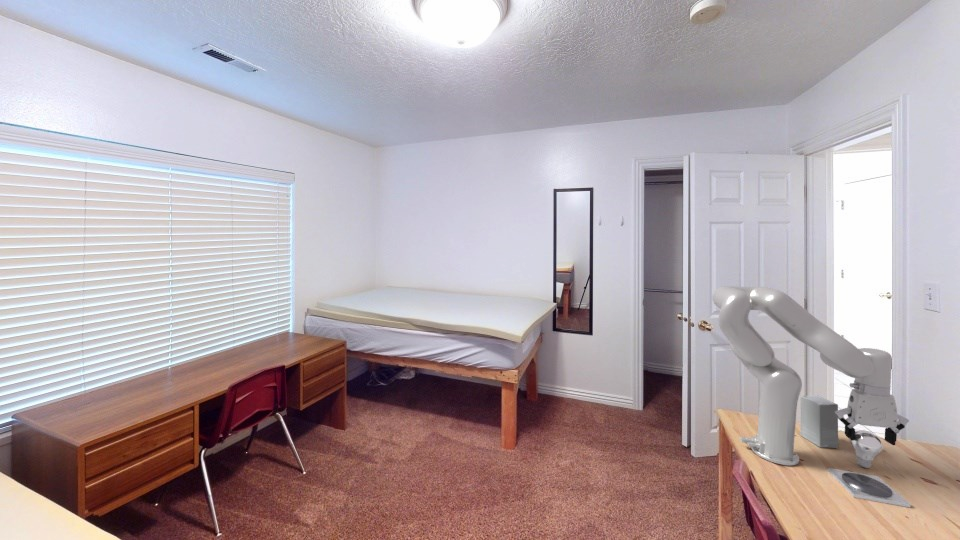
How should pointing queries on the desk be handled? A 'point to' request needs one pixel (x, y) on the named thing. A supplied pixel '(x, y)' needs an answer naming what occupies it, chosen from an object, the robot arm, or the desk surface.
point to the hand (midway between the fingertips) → (869, 440)
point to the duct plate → (868, 487)
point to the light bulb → (866, 447)
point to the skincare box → (819, 421)
